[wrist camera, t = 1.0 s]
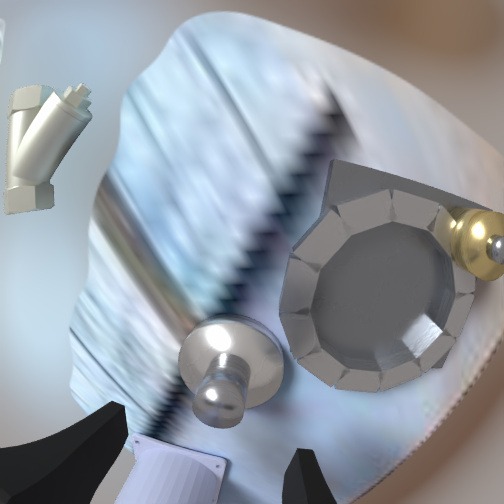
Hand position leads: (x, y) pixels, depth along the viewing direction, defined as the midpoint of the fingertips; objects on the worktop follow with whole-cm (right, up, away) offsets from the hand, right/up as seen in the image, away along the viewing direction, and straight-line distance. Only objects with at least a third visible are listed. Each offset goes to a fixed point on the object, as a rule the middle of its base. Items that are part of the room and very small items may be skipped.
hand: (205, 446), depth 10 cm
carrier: (+10, +7, +5) cm, 13 cm away
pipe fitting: (-11, +15, +6) cm, 19 cm away
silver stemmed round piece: (+1, +1, +7) cm, 7 cm away
